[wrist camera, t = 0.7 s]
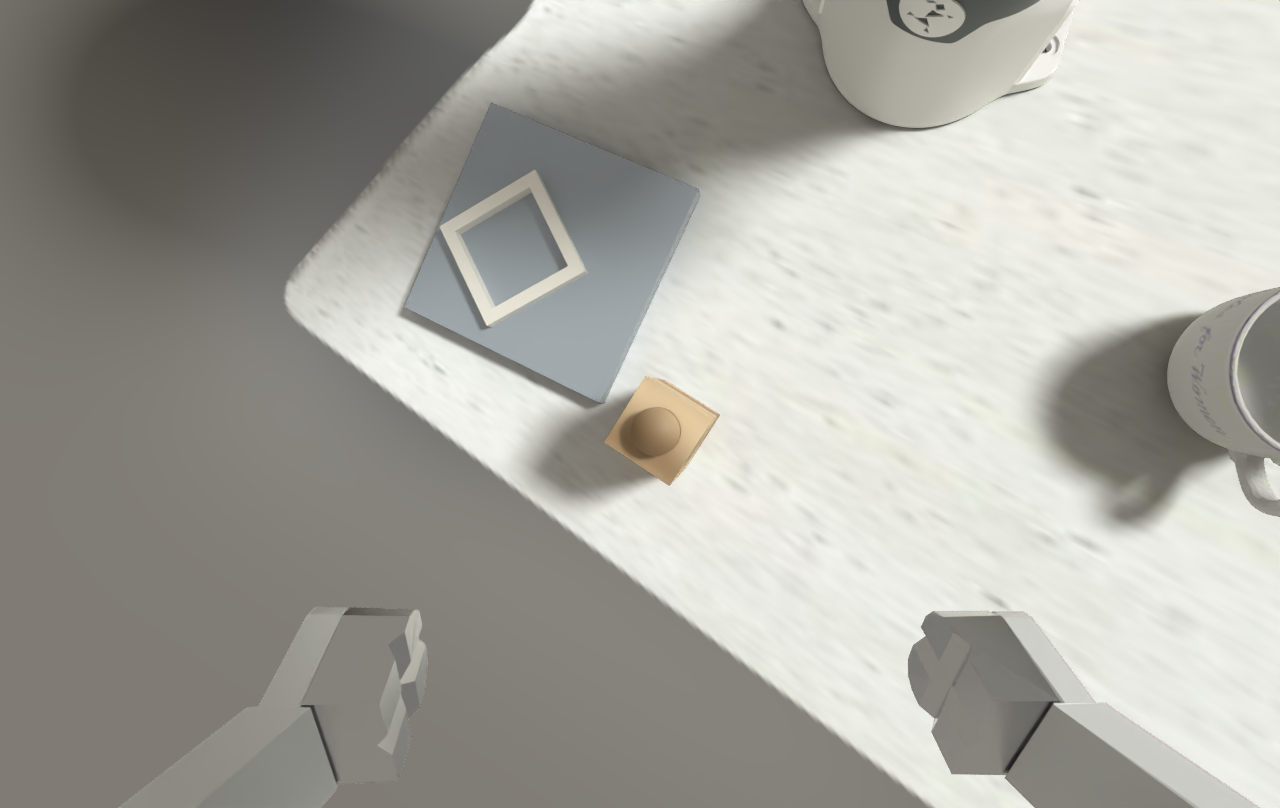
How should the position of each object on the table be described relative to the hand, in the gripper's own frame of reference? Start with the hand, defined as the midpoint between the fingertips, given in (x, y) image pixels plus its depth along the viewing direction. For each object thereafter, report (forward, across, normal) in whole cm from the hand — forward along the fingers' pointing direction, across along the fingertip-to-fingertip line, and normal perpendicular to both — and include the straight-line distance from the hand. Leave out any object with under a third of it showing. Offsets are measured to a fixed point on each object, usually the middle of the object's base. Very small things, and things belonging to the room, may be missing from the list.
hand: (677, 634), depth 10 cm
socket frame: (+42, +8, +7) cm, 44 cm away
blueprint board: (+43, +6, +7) cm, 44 cm away
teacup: (+28, -41, +10) cm, 51 cm away
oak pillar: (+34, -5, +18) cm, 39 cm away
